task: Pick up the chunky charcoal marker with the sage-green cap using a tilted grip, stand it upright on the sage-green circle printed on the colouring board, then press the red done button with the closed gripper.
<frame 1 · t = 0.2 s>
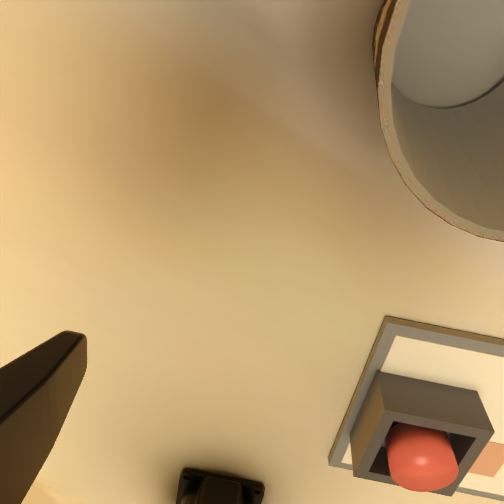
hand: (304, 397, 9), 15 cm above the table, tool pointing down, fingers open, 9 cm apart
coffee mug: (483, 4, 18), on the table
done button housing: (409, 413, 28), resting on colouring board
done button: (419, 455, 25), point 4 cm above the table, slide at 0.0 cm
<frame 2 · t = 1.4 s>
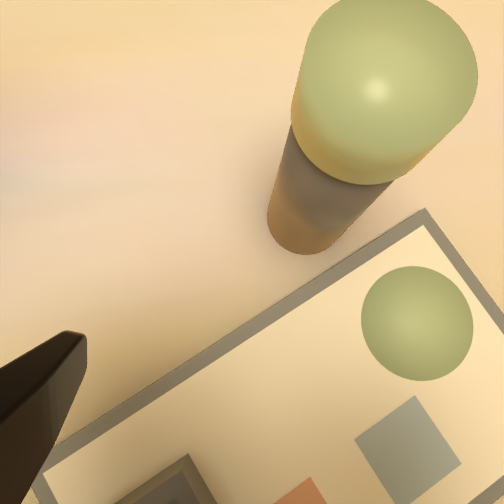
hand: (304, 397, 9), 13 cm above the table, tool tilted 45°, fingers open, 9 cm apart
colouring board: (312, 444, 21), on the table
marker: (304, 217, 24), on the table
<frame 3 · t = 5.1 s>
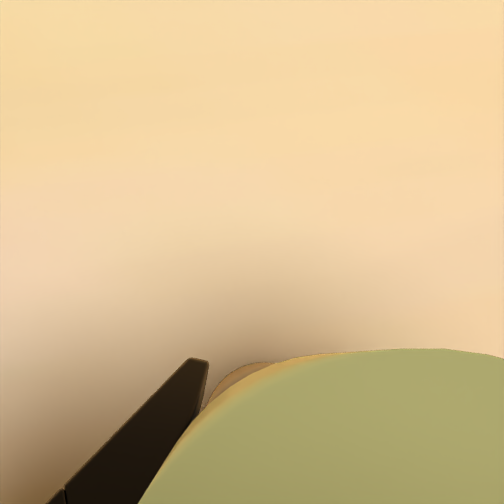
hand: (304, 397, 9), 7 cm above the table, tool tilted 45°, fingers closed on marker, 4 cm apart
marker: (264, 423, 15), on the table, touching gripper
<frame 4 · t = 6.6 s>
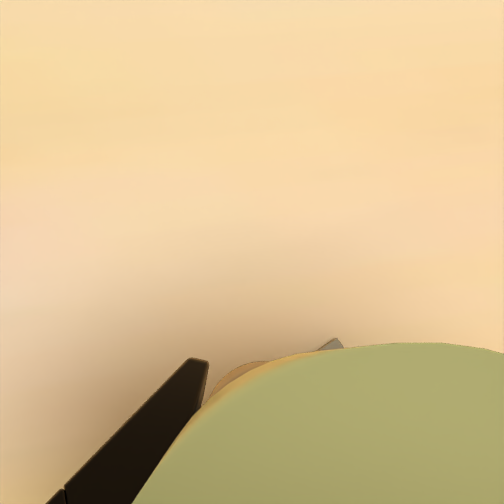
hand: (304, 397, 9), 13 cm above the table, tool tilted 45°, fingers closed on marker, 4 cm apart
marker: (263, 422, 15), point 7 cm above the table, touching gripper
when the fingers open (8 cm above the table, at t = 8.5 s): marker stays where it is, resting on colouring board.
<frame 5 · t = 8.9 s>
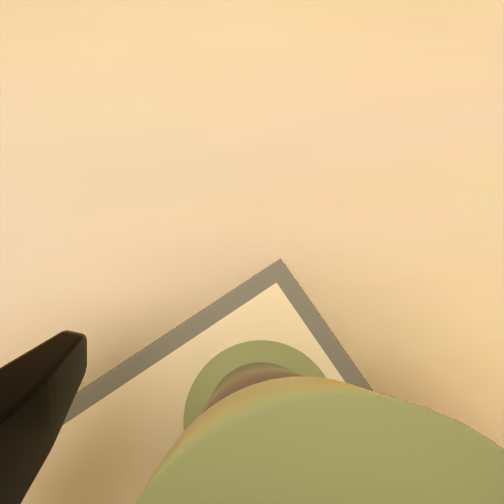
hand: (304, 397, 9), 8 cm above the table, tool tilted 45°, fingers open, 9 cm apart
marker: (261, 420, 16), point 1 cm above the table, touching colouring board
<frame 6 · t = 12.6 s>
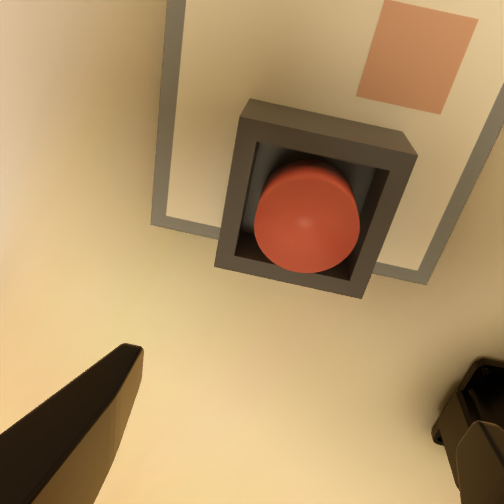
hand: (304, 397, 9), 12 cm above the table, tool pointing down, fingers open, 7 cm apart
done button housing: (306, 185, 19), resting on colouring board
done button: (306, 216, 16), point 4 cm above the table, slide at 0.0 cm
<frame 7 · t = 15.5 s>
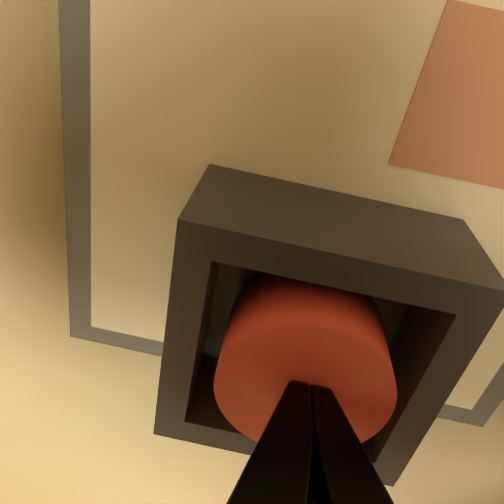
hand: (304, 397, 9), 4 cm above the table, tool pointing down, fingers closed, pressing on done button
done button housing: (304, 291, 12), resting on colouring board
done button: (303, 360, 10), point 3 cm above the table, slide at 0.4 cm, touching gripper
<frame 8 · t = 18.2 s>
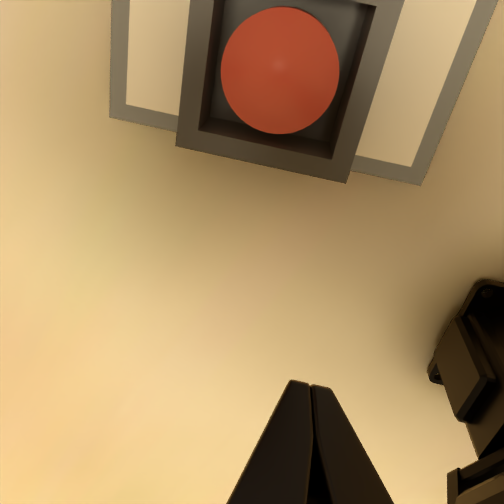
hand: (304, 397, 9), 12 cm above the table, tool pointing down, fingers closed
done button housing: (284, 60, 16), resting on colouring board
done button: (280, 70, 14), point 3 cm above the table, slide at 0.7 cm
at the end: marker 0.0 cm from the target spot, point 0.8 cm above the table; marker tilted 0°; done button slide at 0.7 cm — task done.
